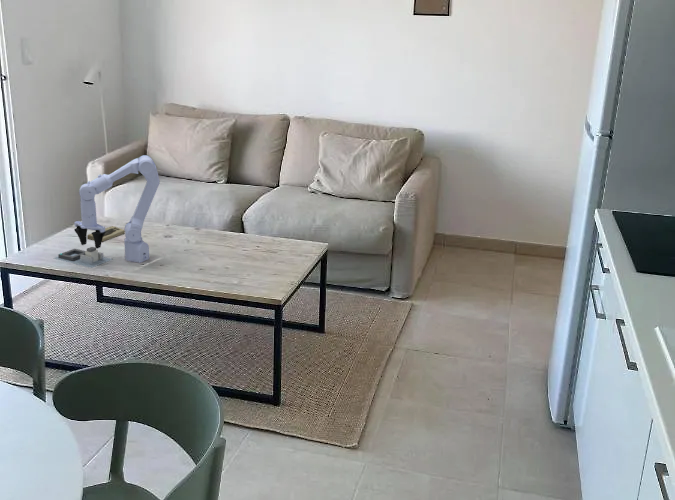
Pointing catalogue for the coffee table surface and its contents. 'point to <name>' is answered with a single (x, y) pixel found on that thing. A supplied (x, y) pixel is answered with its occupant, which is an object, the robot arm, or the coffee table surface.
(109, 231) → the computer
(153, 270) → the coffee table surface
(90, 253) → the plug
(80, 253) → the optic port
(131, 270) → the coffee table surface
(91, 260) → the plate with twin rails
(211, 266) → the coffee table surface
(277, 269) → the coffee table surface
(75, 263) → the panel board
